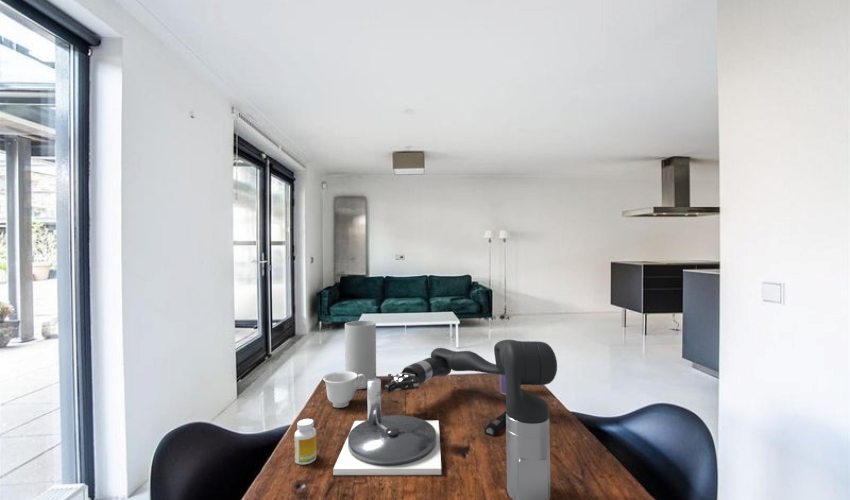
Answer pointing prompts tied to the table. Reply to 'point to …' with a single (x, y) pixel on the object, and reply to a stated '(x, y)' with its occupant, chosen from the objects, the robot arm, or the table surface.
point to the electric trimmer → (495, 425)
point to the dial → (389, 435)
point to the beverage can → (502, 384)
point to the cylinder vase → (361, 350)
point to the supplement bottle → (305, 442)
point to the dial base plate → (420, 467)
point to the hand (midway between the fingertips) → (386, 389)
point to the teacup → (342, 387)
